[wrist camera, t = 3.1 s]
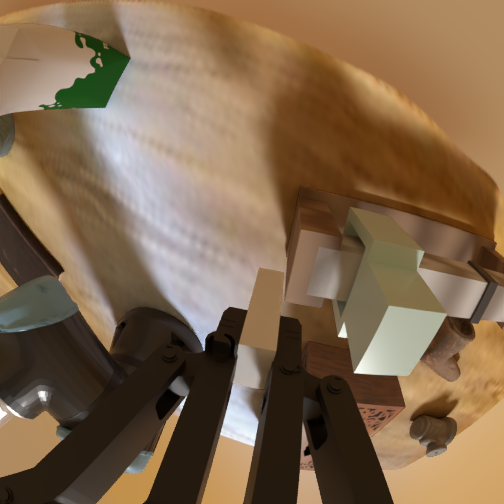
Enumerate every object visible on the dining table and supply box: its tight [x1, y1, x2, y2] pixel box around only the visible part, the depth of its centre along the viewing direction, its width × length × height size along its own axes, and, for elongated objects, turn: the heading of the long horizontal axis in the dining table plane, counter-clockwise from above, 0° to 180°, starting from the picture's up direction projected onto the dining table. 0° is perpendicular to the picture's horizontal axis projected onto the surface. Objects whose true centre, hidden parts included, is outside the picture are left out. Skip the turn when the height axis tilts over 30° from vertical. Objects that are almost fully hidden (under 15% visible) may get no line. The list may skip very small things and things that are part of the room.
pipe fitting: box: [410, 415, 457, 457], centre depth 38 cm, size 12×8×10 cm
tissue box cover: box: [300, 341, 405, 471], centre depth 37 cm, size 26×14×10 cm, turn 166°
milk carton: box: [0, 24, 130, 116], centre depth 16 cm, size 9×9×20 cm
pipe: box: [420, 316, 475, 382], centre depth 31 cm, size 6×17×10 cm
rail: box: [284, 186, 504, 330], centre depth 23 cm, size 29×8×11 cm, turn 82°
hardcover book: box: [0, 194, 64, 286], centre depth 39 cm, size 16×23×2 cm
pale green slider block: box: [332, 207, 447, 376], centre depth 18 cm, size 4×8×13 cm, turn 172°
